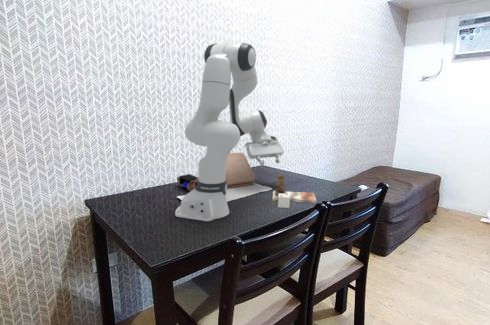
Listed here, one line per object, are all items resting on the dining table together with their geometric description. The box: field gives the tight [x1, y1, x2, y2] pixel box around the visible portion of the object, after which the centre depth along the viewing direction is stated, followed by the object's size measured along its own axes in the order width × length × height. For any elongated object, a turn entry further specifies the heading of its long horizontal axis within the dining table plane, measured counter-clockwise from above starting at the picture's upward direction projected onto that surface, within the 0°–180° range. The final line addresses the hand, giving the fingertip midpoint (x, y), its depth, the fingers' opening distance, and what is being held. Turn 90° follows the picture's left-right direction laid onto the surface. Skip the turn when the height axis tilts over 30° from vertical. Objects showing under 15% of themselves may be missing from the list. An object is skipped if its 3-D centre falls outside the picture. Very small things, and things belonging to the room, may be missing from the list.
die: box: [277, 193, 291, 209], centre depth 134 cm, size 5×5×5 cm
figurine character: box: [176, 173, 199, 192], centre depth 156 cm, size 7×8×15 cm
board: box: [272, 190, 317, 204], centre depth 145 cm, size 20×11×1 cm, turn 83°
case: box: [226, 152, 256, 189], centre depth 168 cm, size 20×21×16 cm
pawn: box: [274, 173, 286, 196], centre depth 145 cm, size 5×5×10 cm
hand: (270, 163), depth 151 cm, fingers open, 8 cm apart
